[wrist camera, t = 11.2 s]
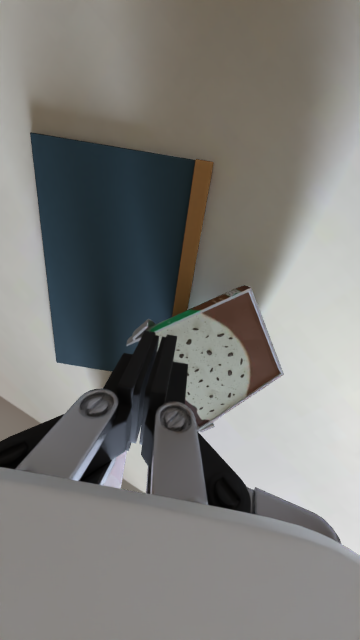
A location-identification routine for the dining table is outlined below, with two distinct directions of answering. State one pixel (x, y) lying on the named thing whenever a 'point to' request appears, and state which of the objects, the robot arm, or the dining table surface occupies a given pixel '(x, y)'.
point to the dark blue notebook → (115, 242)
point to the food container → (220, 352)
